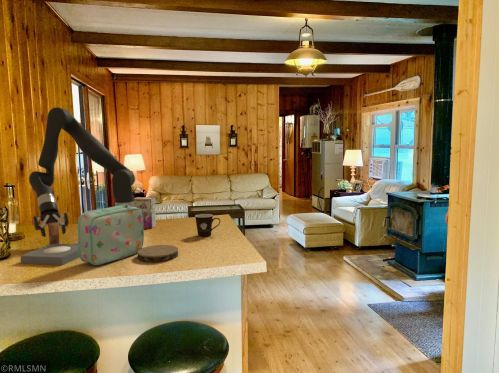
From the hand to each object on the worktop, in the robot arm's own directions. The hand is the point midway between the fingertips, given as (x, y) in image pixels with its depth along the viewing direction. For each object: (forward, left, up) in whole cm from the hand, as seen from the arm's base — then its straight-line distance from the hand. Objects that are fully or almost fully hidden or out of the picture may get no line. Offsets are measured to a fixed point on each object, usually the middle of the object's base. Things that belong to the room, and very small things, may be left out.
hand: (54, 234), depth 165 cm
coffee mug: (-62, -29, -6) cm, 69 cm away
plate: (-11, +13, -6) cm, 18 cm away
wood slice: (-52, +7, -6) cm, 53 cm away
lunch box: (-35, +11, -6) cm, 37 cm away
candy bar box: (-22, -44, -6) cm, 50 cm away
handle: (+1, -1, -6) cm, 6 cm away
